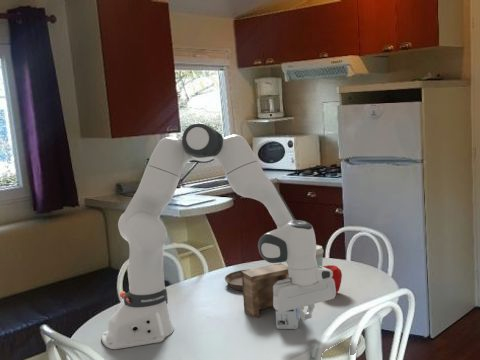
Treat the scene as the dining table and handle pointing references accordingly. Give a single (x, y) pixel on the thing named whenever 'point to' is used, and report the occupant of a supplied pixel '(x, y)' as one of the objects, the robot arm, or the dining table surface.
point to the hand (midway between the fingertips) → (306, 318)
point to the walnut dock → (261, 287)
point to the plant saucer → (235, 279)
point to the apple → (335, 275)
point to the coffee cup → (319, 255)
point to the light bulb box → (287, 319)
